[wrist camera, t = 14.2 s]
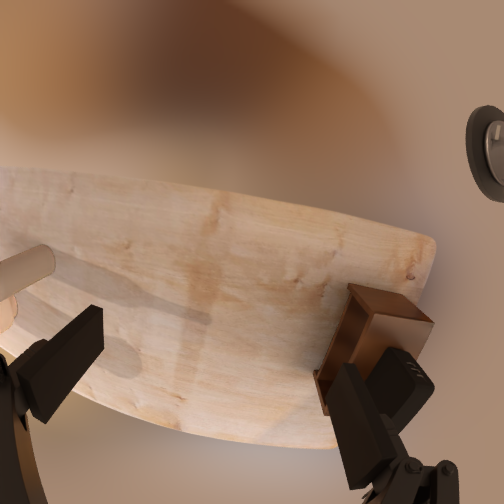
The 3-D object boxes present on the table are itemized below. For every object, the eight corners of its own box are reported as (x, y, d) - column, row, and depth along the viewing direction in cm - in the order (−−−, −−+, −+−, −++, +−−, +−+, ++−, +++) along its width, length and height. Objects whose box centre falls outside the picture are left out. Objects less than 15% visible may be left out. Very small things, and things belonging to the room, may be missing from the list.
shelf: (348, 282, 46) (374, 313, 34) (402, 294, 46) (435, 323, 35) (312, 373, 50) (323, 415, 39) (363, 378, 51) (381, 416, 39)
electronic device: (407, 349, 36) (437, 388, 26) (374, 396, 38) (394, 438, 28) (388, 344, 35) (417, 385, 26) (354, 394, 38) (373, 438, 28)
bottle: (55, 278, 47) (-39, 338, 19) (35, 270, 46) (-56, 321, 19) (55, 248, 45) (-50, 298, 18) (35, 241, 45) (-65, 282, 17)
